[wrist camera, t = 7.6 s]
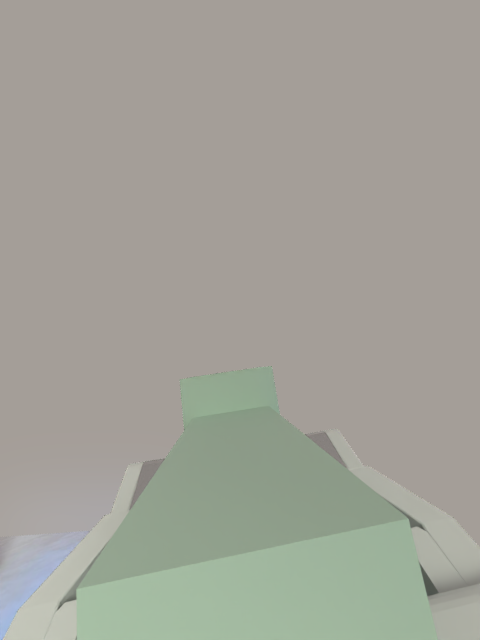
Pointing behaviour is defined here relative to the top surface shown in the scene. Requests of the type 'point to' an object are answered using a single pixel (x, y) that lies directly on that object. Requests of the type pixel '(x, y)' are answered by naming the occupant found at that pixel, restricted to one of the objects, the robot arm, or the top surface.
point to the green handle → (254, 537)
